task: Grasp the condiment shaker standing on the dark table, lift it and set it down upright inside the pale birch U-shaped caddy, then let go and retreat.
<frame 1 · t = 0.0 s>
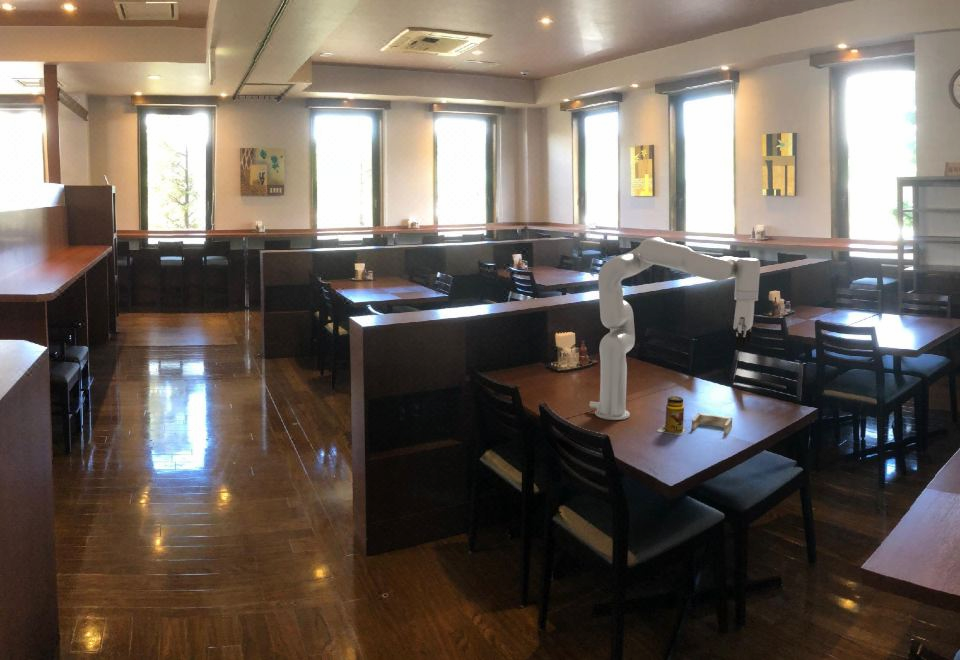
hand: (743, 345, 257), 31 cm above the table, fingers open, 9 cm apart
condiment: (671, 431, 267), on the table
u rest: (711, 429, 268), on the table
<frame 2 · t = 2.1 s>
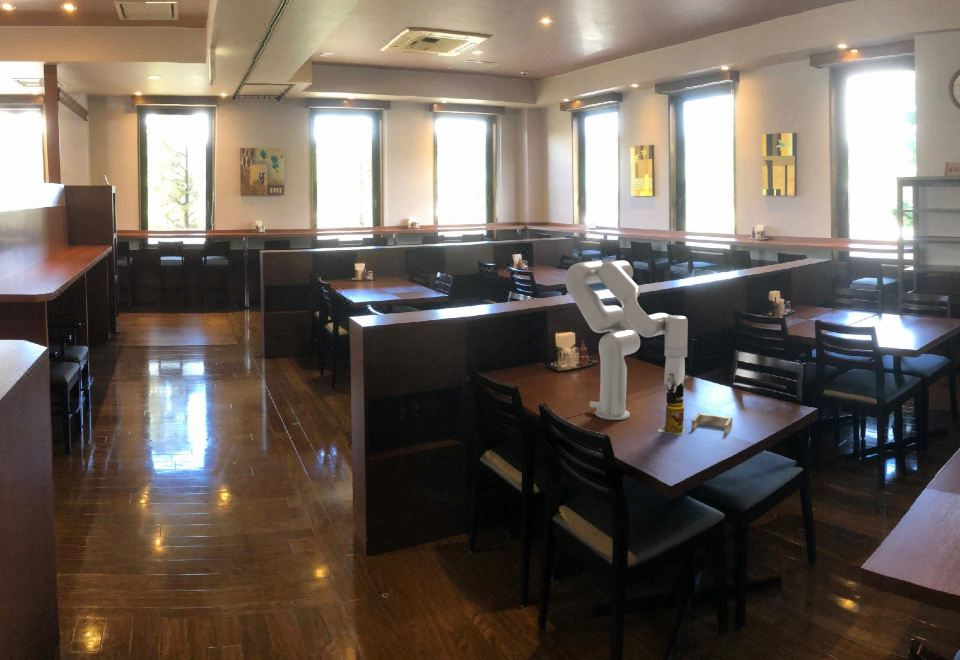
hand: (675, 400, 264), 11 cm above the table, fingers open, 9 cm apart
nothing on the table moved.
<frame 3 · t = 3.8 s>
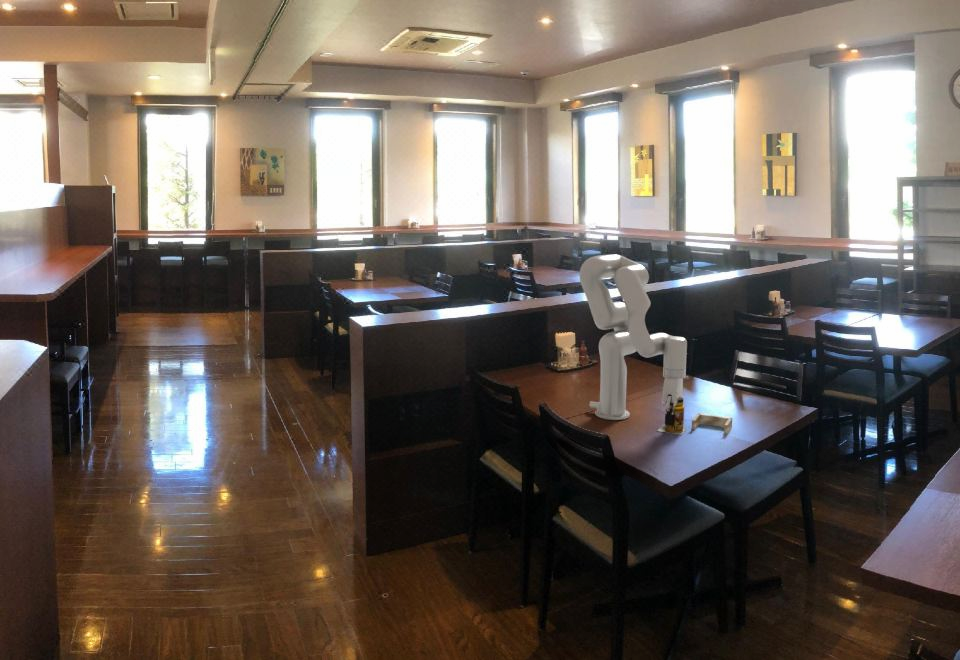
hand: (672, 421, 266), 3 cm above the table, fingers closed on condiment, 6 cm apart
condiment: (671, 430, 267), on the table, touching gripper
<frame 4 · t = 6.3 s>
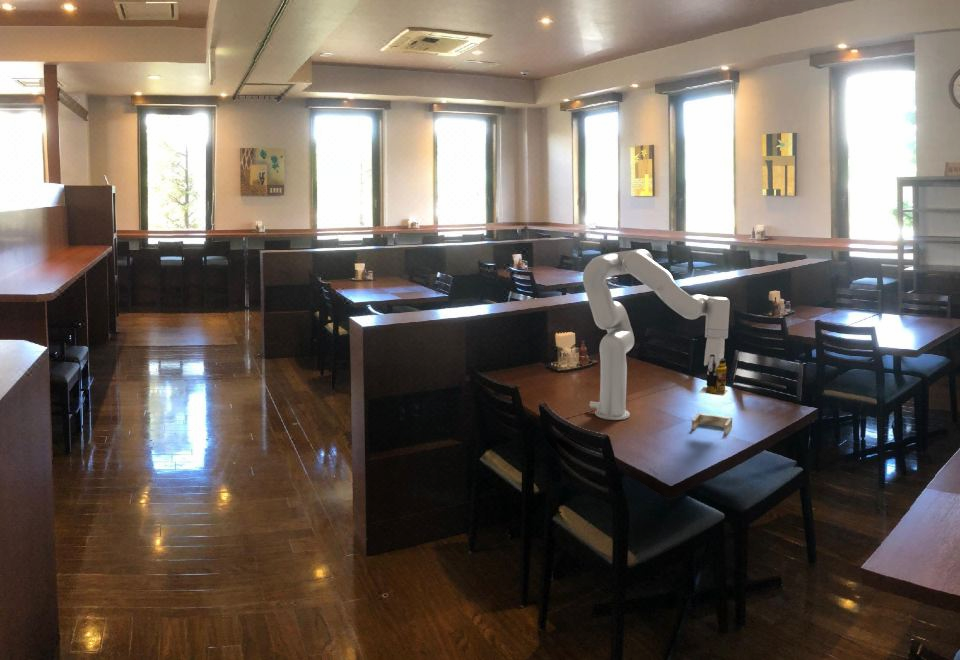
hand: (713, 383, 264), 17 cm above the table, fingers closed on condiment, 6 cm apart
condiment: (713, 392, 265), point 13 cm above the table, touching gripper
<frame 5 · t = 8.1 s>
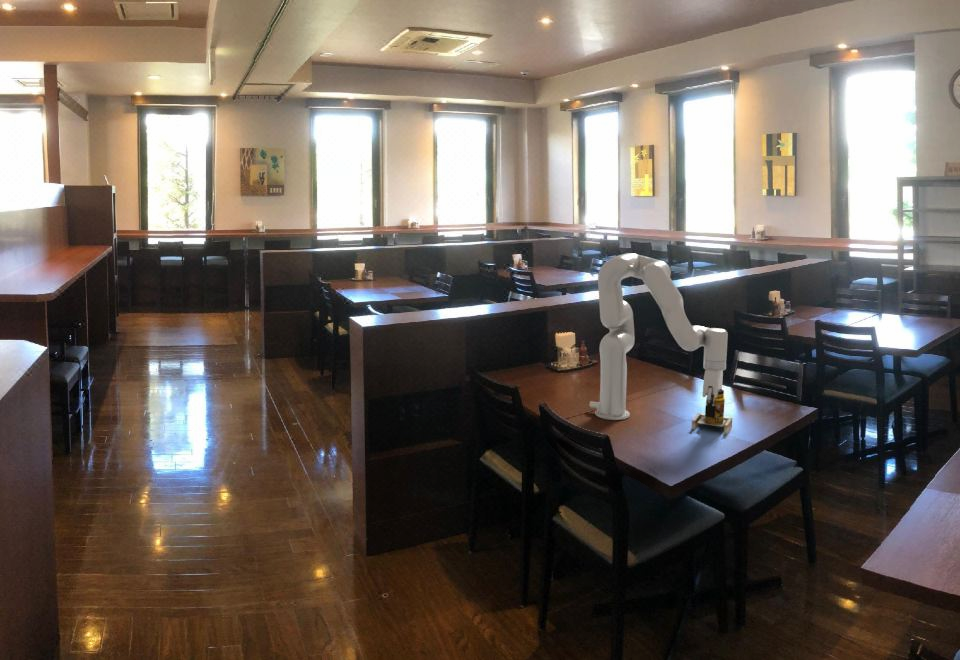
hand: (712, 413, 266), 6 cm above the table, fingers closed on condiment, 6 cm apart
condiment: (711, 422, 267), point 2 cm above the table, touching gripper
when the fingers open (5 cm above the table, at t = 9.2 s): condiment drops 2 cm, on the table.
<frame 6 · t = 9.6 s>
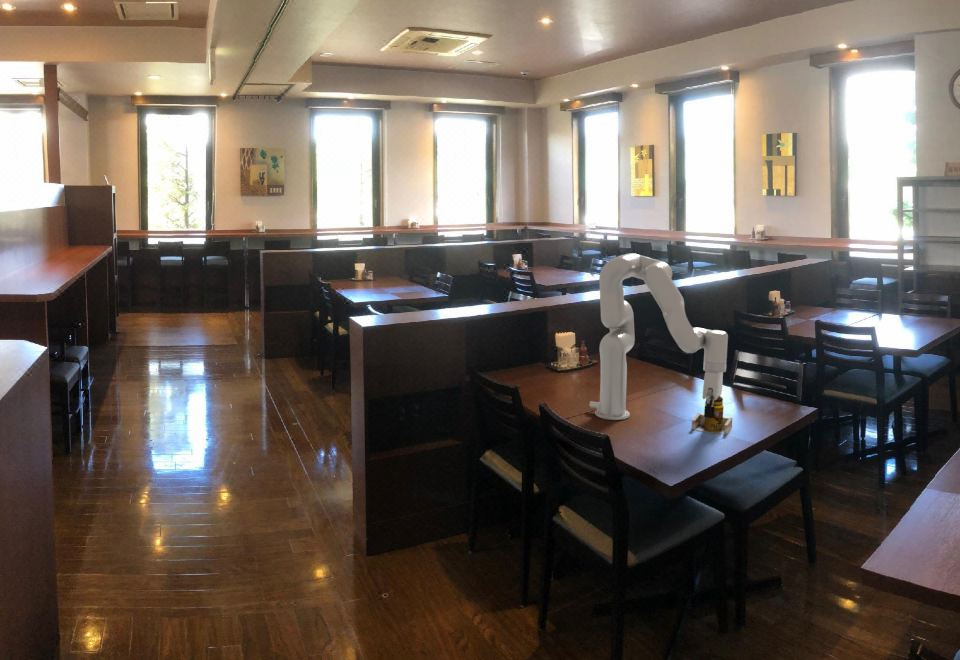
hand: (712, 413, 266), 6 cm above the table, fingers open, 9 cm apart
condiment: (710, 430, 268), on the table
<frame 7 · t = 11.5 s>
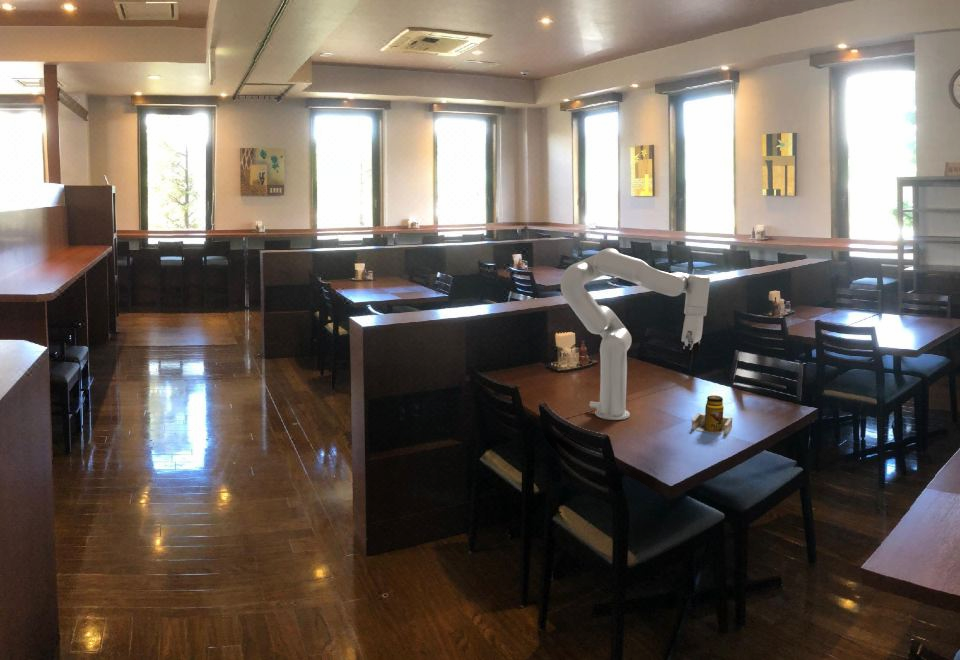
hand: (690, 357, 270), 24 cm above the table, fingers open, 9 cm apart
nothing on the table moved.
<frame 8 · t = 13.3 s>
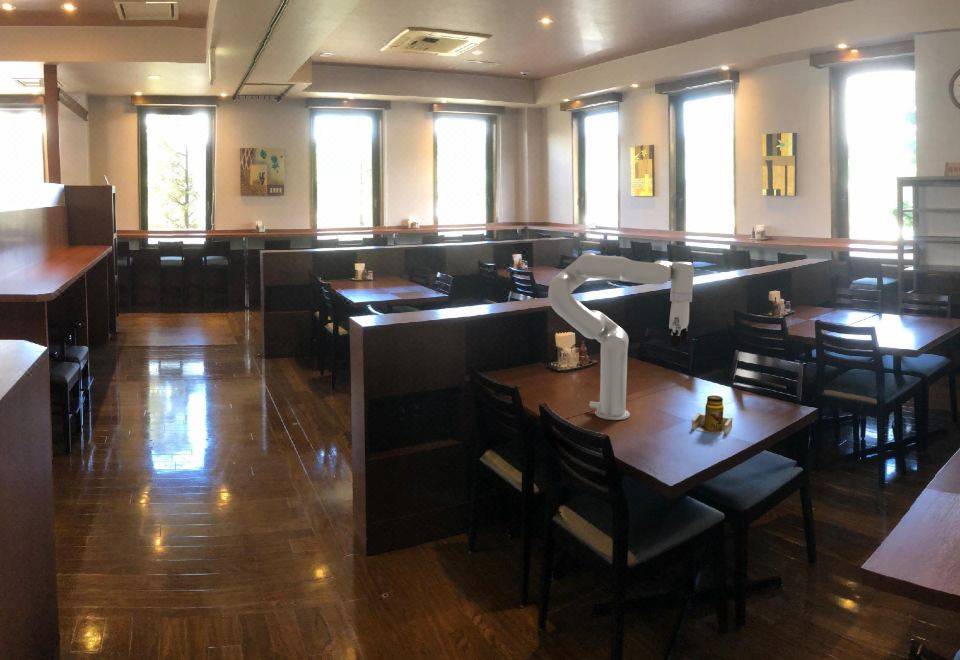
hand: (678, 344, 273), 28 cm above the table, fingers open, 9 cm apart
nothing on the table moved.
at the end: condiment inside the target area on the u rest (0.4 cm from its centre), point 0.0 cm above the u rest's base; condiment tilted 0°; the gripper is holding nothing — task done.
